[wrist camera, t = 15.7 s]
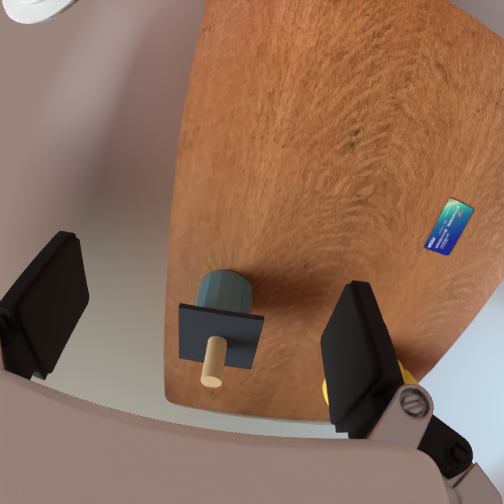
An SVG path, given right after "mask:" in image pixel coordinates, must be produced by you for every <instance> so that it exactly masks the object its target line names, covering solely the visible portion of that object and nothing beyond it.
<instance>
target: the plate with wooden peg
mask: <svg viewBox="0 0 504 504" xmlns="http://www.w3.org/2000/svg"><path fill="white" fill-rule="evenodd" d="M263 323H264V316H259V315H252V314H245V313H238V312H231V311H225V310H218V309H212V308H206V307H200V306H194V305H188V304H182V303H180V305H179V358H181V359H186V360H192V361H198V362H204V366H203V371H202V377H201V382H202V384H204V385H205V386H208V387H213V388H215V387H219V386H221V384H222V379H223V371H224V366H230V367H237V368H244V369H251V367H252V364H253V360H254V356H255V353H256V349H257V345H258V342H259V338H260V334H261V331H262V327H263Z"/></svg>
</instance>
